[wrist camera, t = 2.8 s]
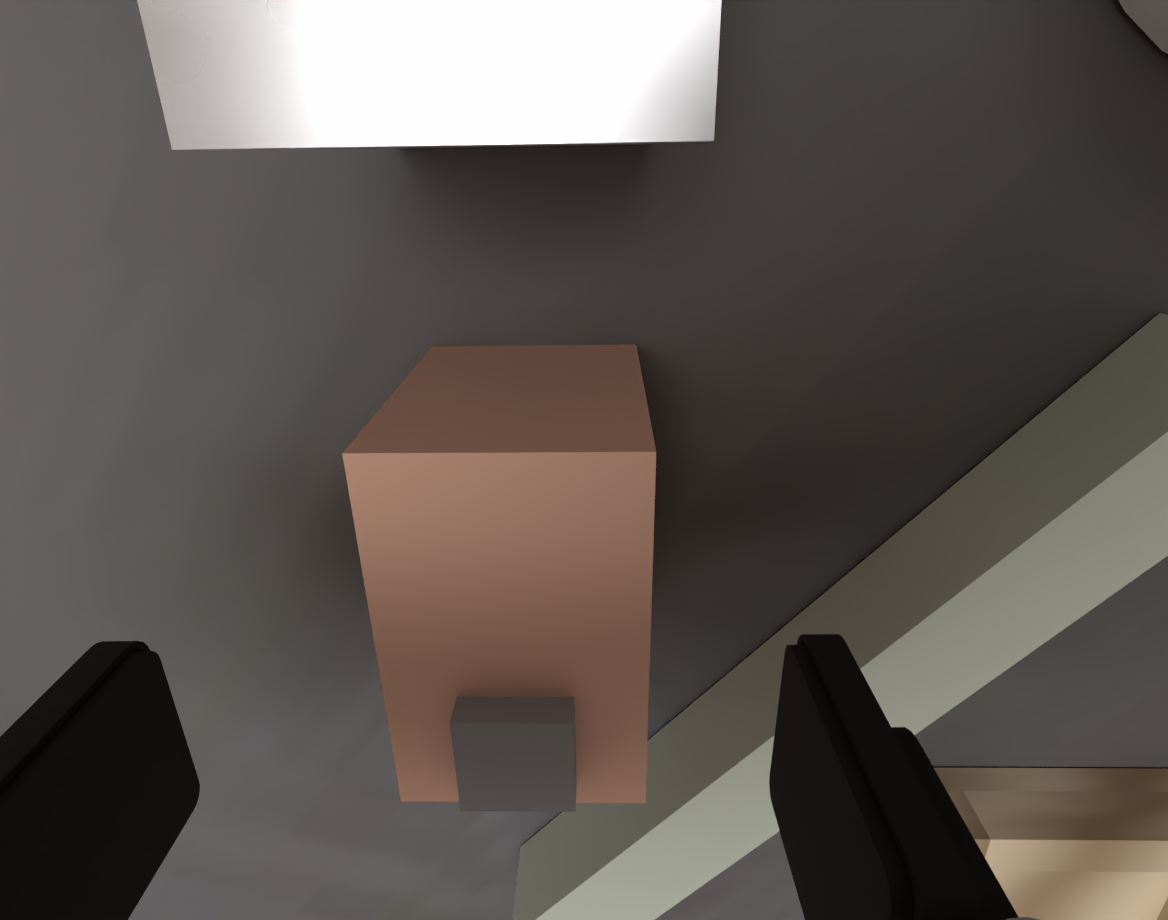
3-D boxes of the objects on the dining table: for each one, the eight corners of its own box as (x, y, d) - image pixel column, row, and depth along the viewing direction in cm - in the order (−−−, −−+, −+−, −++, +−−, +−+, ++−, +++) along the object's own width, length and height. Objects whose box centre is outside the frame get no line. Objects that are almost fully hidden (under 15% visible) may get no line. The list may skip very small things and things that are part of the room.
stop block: (636, 343, 15) (659, 469, 9) (631, 606, 18) (647, 832, 12) (432, 345, 16) (327, 471, 10) (460, 606, 18) (392, 830, 12)
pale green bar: (1159, 312, 15) (1276, 347, 12) (1220, 383, 15) (1344, 430, 13) (520, 846, 22) (509, 939, 19) (579, 881, 23) (576, 974, 20)
